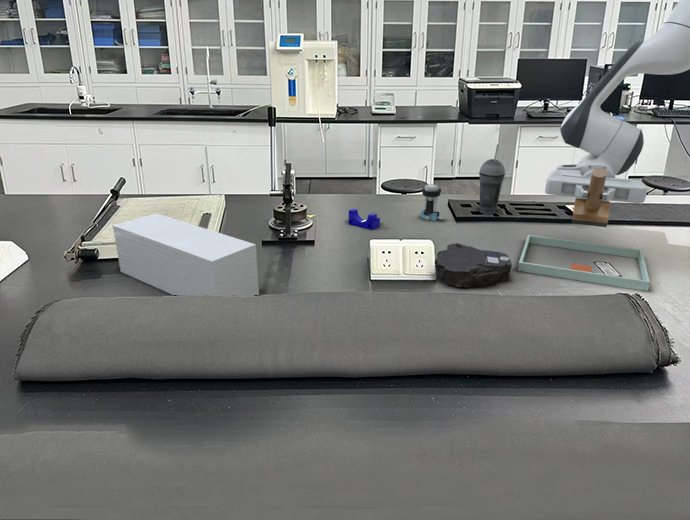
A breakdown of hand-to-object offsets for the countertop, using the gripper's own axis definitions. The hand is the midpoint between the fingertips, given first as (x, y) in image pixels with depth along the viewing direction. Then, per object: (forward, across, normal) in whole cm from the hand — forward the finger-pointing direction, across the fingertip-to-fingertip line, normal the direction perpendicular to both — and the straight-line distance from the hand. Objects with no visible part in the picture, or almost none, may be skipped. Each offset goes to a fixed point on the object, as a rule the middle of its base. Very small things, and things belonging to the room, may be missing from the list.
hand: (594, 196), depth 111 cm
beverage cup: (-35, +26, -17) cm, 47 cm away
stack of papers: (+40, +76, -17) cm, 87 cm away
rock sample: (+13, +22, -17) cm, 31 cm away
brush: (-5, 0, -6) cm, 8 cm away
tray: (-2, 0, -17) cm, 17 cm away
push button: (-20, +39, -17) cm, 47 cm away
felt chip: (+4, 0, -16) cm, 16 cm away
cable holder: (-9, +55, -17) cm, 58 cm away
